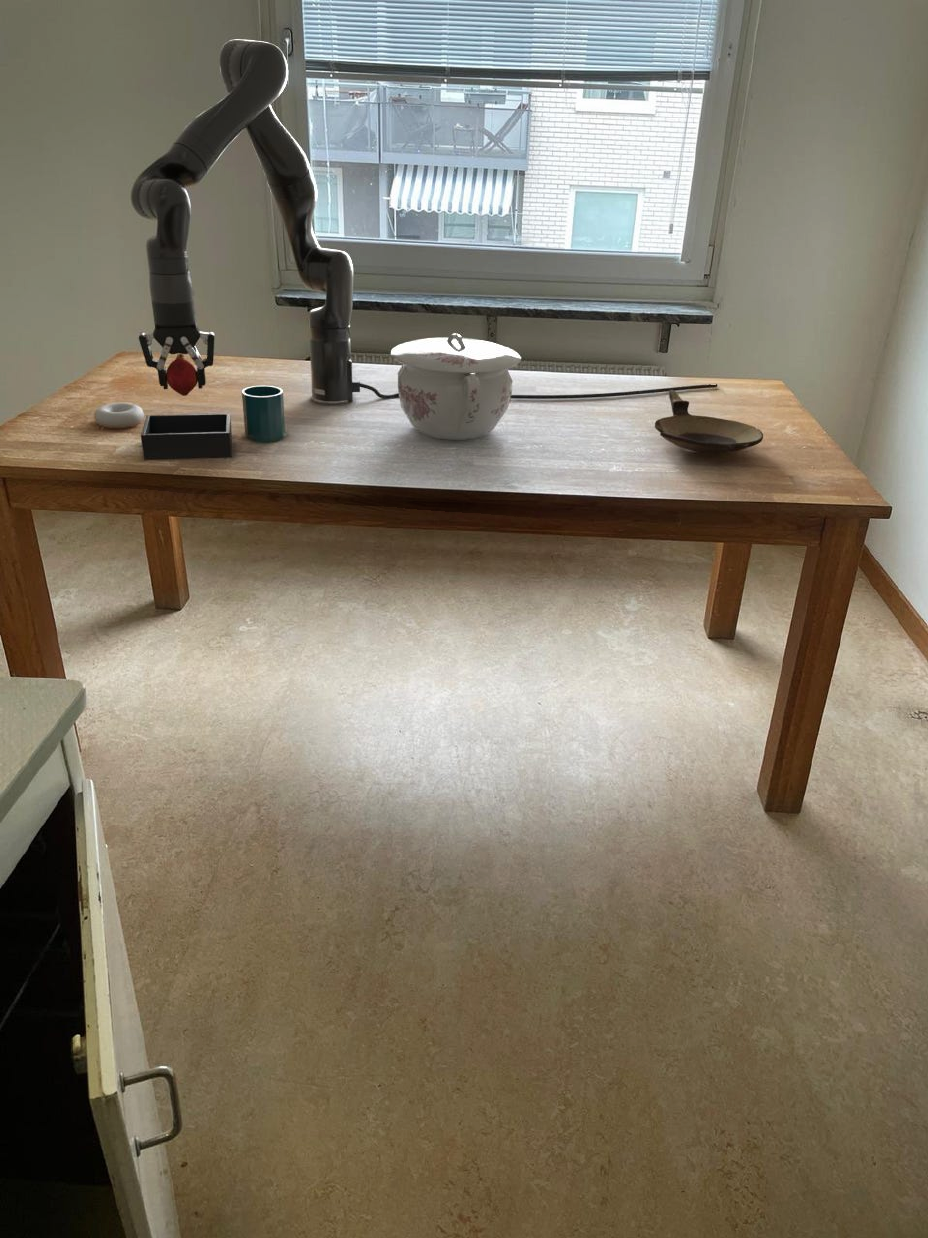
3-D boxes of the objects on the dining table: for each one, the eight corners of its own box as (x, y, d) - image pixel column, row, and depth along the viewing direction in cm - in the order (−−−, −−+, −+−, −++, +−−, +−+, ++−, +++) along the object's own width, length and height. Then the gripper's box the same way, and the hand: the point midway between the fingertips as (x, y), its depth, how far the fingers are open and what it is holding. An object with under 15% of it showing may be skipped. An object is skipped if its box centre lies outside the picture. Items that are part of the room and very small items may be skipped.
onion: (195, 400, 171) (190, 358, 167) (165, 399, 171) (159, 357, 167) (203, 391, 176) (198, 350, 172) (174, 390, 176) (168, 349, 172)
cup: (284, 429, 191) (282, 385, 186) (286, 442, 184) (283, 396, 180) (245, 430, 190) (241, 385, 185) (245, 443, 183) (241, 397, 178)
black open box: (232, 436, 186) (230, 413, 183) (231, 457, 175) (229, 432, 173) (149, 438, 182) (146, 414, 180) (144, 460, 172) (140, 435, 169)
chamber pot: (427, 404, 211) (429, 313, 201) (534, 425, 201) (542, 331, 191) (364, 436, 189) (363, 337, 179) (481, 462, 179) (488, 357, 169)
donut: (125, 433, 185) (154, 419, 193) (122, 417, 183) (152, 403, 191) (85, 426, 187) (115, 412, 195) (82, 410, 186) (113, 397, 194)
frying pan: (657, 465, 182) (663, 428, 178) (646, 420, 208) (651, 387, 204) (768, 473, 181) (777, 437, 177) (743, 427, 206) (750, 394, 202)
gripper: (129, 301, 160) (143, 394, 168) (212, 301, 163) (221, 392, 171) (133, 293, 166) (146, 383, 175) (213, 293, 169) (222, 381, 177)
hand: (183, 387), depth 173 cm, fingers closed on onion, 6 cm apart
